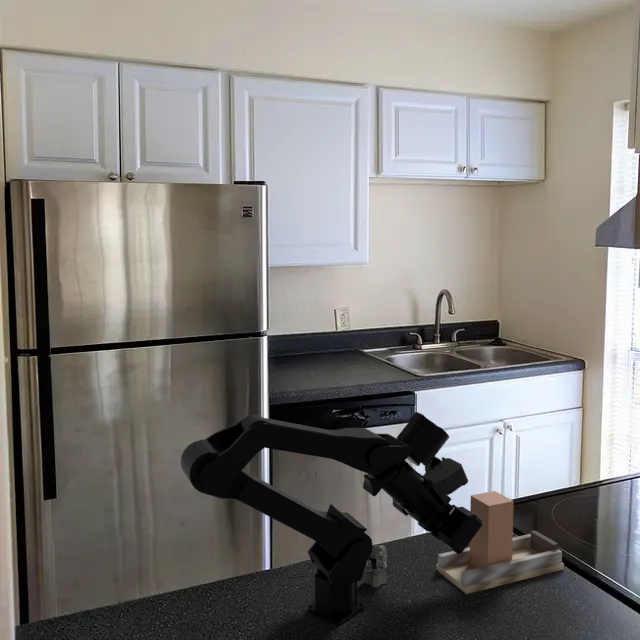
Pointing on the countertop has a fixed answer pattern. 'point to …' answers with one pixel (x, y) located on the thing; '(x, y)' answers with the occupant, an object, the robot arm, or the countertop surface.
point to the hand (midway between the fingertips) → (464, 540)
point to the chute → (503, 564)
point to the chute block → (492, 529)
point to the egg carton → (377, 575)
